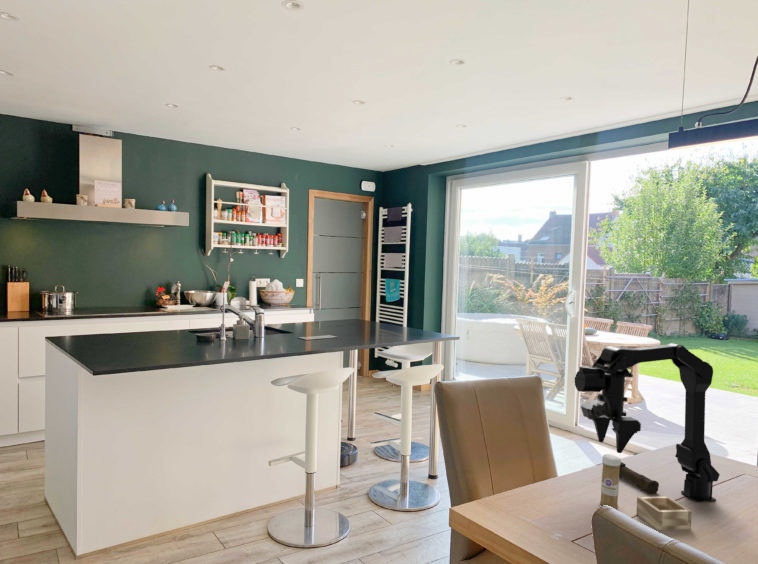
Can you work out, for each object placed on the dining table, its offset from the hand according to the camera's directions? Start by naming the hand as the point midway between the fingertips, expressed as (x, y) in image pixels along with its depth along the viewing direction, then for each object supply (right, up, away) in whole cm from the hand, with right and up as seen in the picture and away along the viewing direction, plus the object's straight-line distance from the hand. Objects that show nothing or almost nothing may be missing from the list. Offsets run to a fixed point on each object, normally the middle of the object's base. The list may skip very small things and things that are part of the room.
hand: (609, 447), depth 155 cm
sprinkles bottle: (-2, -15, -4) cm, 16 cm away
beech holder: (+8, -15, -12) cm, 22 cm away
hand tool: (+12, -15, +14) cm, 24 cm away
